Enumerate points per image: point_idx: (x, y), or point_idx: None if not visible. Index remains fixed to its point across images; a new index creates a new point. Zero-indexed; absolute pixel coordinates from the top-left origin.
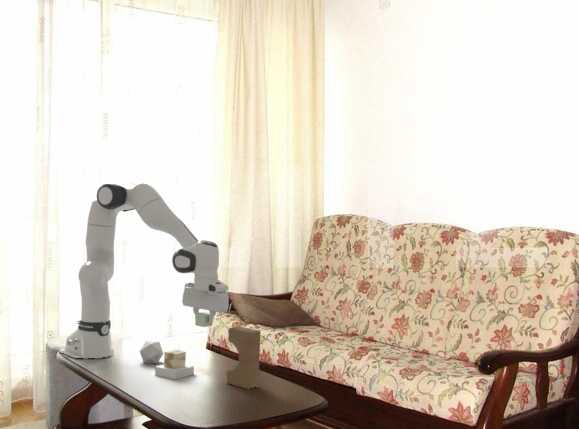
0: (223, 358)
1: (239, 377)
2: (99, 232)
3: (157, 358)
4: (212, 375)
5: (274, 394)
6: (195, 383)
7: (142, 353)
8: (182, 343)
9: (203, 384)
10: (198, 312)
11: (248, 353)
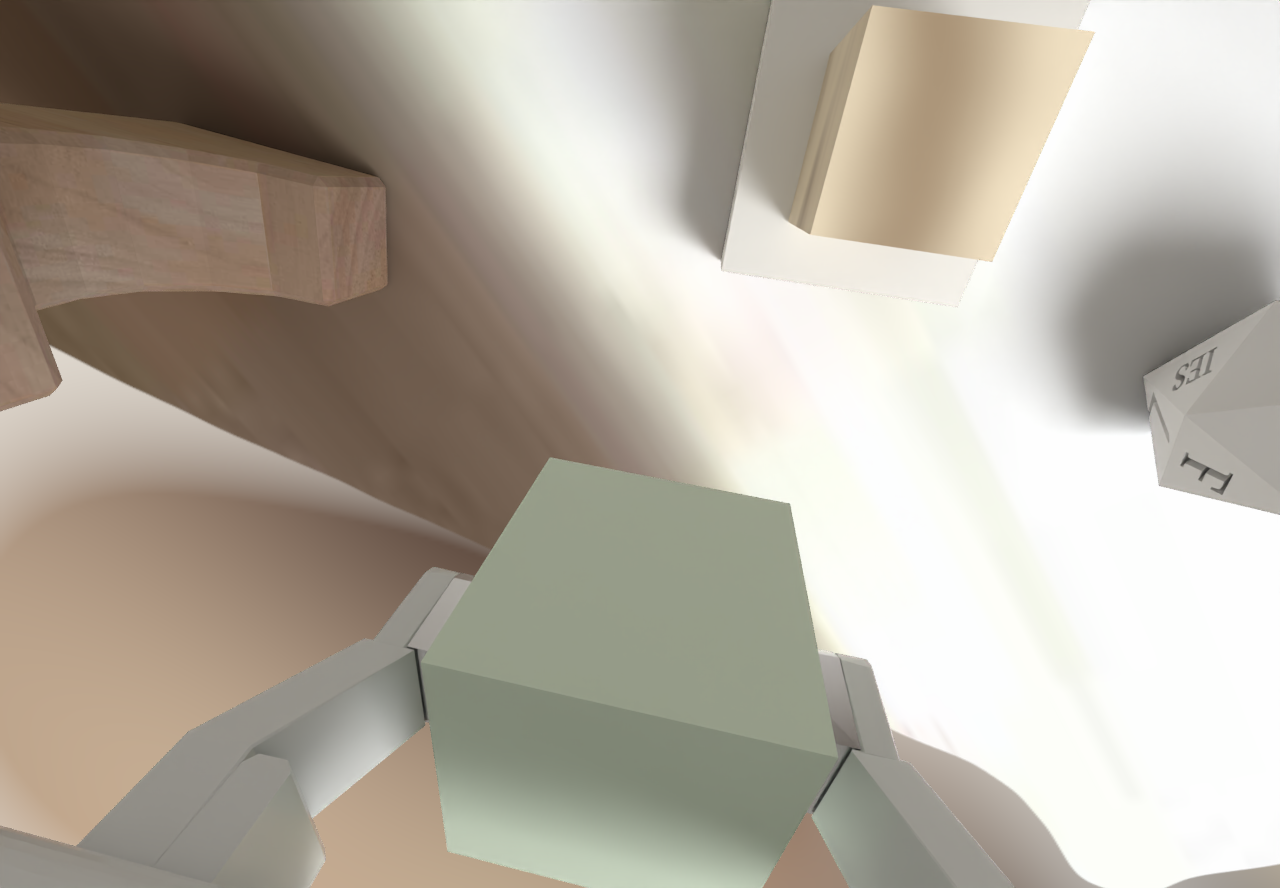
0: None
1: (199, 139)
2: None
3: (1176, 378)
4: (591, 312)
5: None
6: (553, 5)
7: None
8: (1115, 807)
9: (485, 25)
10: (858, 883)
11: None
